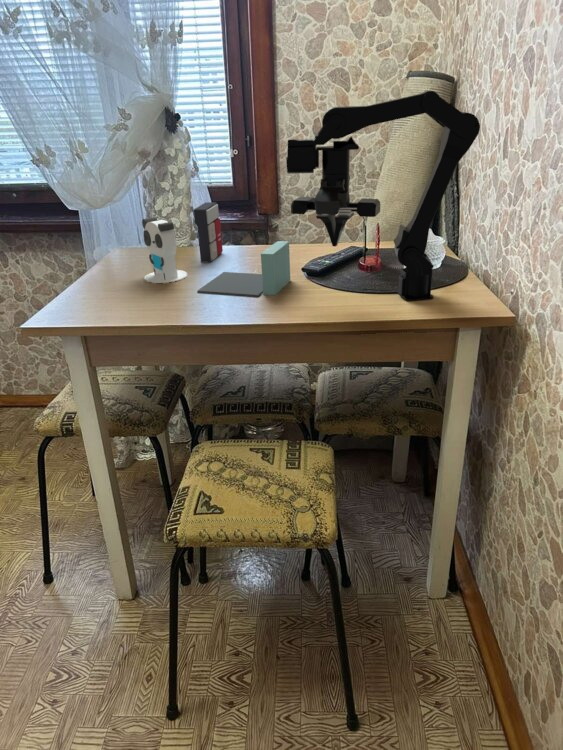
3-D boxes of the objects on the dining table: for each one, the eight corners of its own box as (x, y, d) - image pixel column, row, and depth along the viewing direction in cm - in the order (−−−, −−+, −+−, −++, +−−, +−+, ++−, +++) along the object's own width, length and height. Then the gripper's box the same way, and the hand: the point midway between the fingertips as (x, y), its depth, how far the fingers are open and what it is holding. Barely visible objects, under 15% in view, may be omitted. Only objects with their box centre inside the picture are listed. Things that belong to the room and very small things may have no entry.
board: (290, 280, 145) (289, 241, 141) (274, 295, 135) (272, 254, 131) (279, 279, 146) (277, 241, 142) (263, 294, 136) (260, 253, 132)
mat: (280, 277, 148) (279, 275, 148) (258, 297, 135) (258, 294, 134) (223, 273, 153) (223, 271, 153) (197, 292, 139) (197, 290, 139)
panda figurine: (136, 276, 154) (127, 220, 147) (174, 267, 160) (167, 213, 153) (156, 286, 145) (147, 227, 139) (194, 277, 151) (188, 220, 145)
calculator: (213, 262, 163) (207, 209, 156) (198, 262, 164) (193, 209, 157) (224, 252, 173) (219, 202, 166) (210, 252, 174) (205, 202, 167)
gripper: (281, 177, 116) (283, 252, 123) (371, 179, 110) (368, 258, 117) (298, 170, 125) (299, 240, 133) (382, 171, 120) (379, 245, 127)
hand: (334, 246), depth 127 cm, fingers closed
